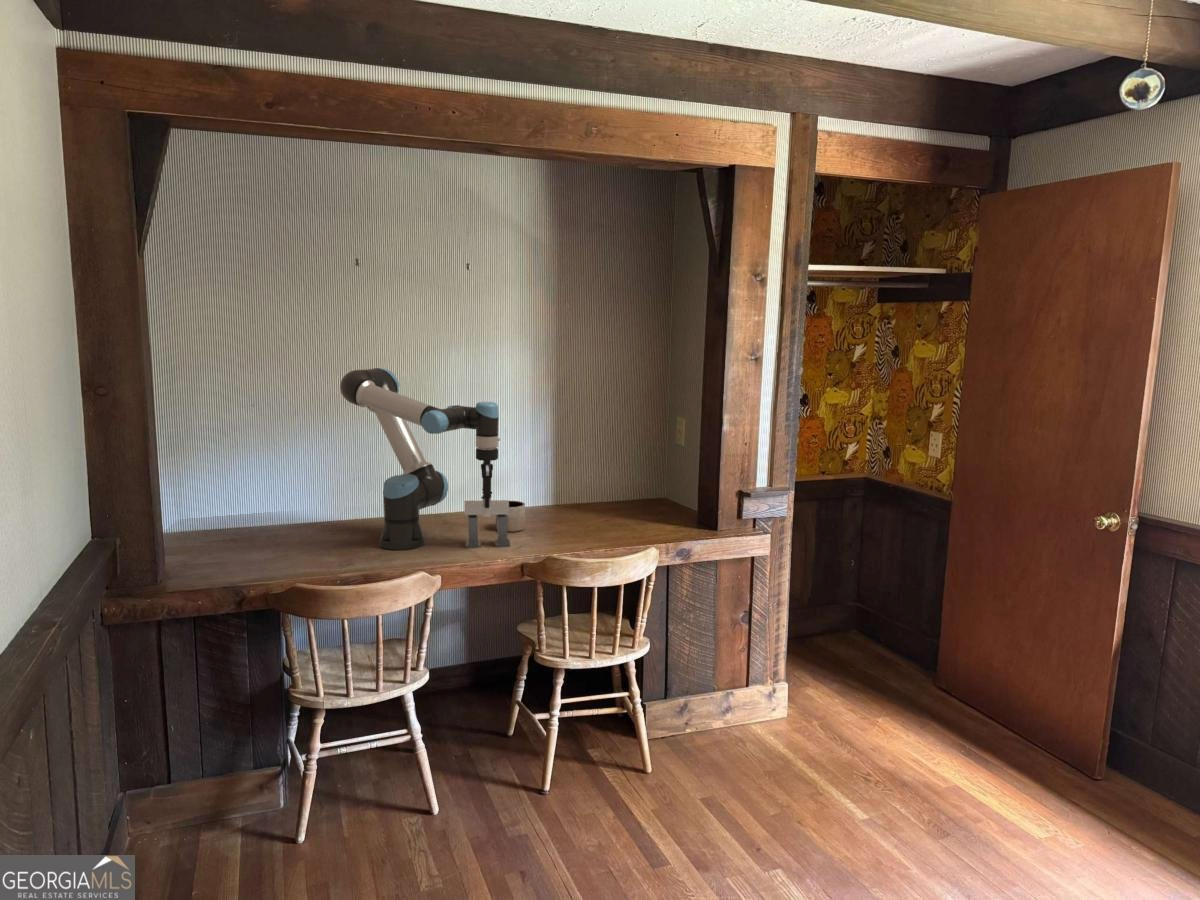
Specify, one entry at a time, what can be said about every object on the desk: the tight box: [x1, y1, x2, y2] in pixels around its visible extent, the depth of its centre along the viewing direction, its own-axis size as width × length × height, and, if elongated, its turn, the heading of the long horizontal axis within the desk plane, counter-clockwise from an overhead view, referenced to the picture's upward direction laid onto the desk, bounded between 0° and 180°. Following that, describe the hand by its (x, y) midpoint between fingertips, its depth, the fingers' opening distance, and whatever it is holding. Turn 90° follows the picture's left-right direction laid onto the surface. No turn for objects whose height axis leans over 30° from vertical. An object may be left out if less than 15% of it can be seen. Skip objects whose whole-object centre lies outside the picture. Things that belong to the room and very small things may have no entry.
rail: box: [463, 499, 510, 516], centre depth 272 cm, size 15×4×4 cm, turn 100°
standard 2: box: [494, 514, 511, 548], centre depth 274 cm, size 5×7×10 cm
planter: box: [495, 500, 526, 533], centre depth 295 cm, size 11×11×10 cm
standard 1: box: [465, 515, 482, 549], centre depth 273 cm, size 5×7×10 cm
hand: (486, 514), depth 273 cm, fingers closed on rail, 4 cm apart
